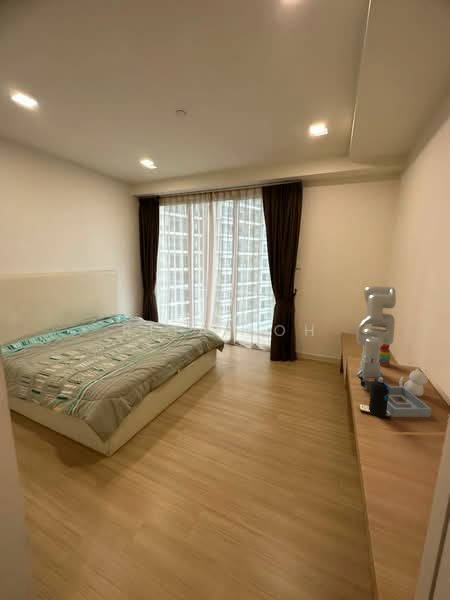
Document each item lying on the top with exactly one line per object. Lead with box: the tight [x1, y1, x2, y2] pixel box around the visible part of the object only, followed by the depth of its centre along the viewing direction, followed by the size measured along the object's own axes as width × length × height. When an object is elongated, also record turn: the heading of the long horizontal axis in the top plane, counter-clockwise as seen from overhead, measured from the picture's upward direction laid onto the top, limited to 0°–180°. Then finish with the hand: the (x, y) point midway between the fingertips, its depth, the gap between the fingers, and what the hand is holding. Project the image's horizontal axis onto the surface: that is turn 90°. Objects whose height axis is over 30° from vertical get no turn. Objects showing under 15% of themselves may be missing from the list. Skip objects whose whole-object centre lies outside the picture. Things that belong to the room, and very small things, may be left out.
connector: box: [363, 377, 375, 392], centre depth 143 cm, size 4×4×9 cm
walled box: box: [387, 386, 432, 418], centre depth 128 cm, size 20×18×5 cm
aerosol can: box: [368, 377, 391, 418], centre depth 121 cm, size 8×8×20 cm
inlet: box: [388, 395, 412, 408], centre depth 128 cm, size 8×8×3 cm
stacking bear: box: [379, 344, 392, 368], centre depth 173 cm, size 11×10×18 cm
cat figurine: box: [398, 368, 428, 397], centre depth 137 cm, size 9×12×15 cm
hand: (368, 386), depth 143 cm, fingers open, 6 cm apart
